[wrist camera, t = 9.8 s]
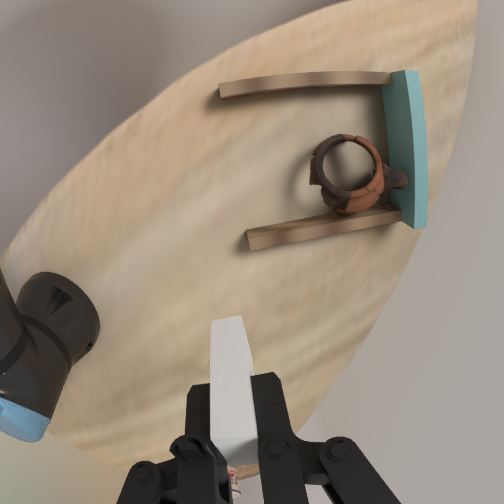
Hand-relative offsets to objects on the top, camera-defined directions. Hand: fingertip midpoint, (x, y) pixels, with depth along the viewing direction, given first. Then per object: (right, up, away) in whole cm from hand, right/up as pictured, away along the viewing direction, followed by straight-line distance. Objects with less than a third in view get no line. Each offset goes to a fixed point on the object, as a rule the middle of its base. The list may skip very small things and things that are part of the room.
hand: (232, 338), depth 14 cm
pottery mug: (+13, +14, +20) cm, 28 cm away
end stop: (+20, +18, +18) cm, 32 cm away
